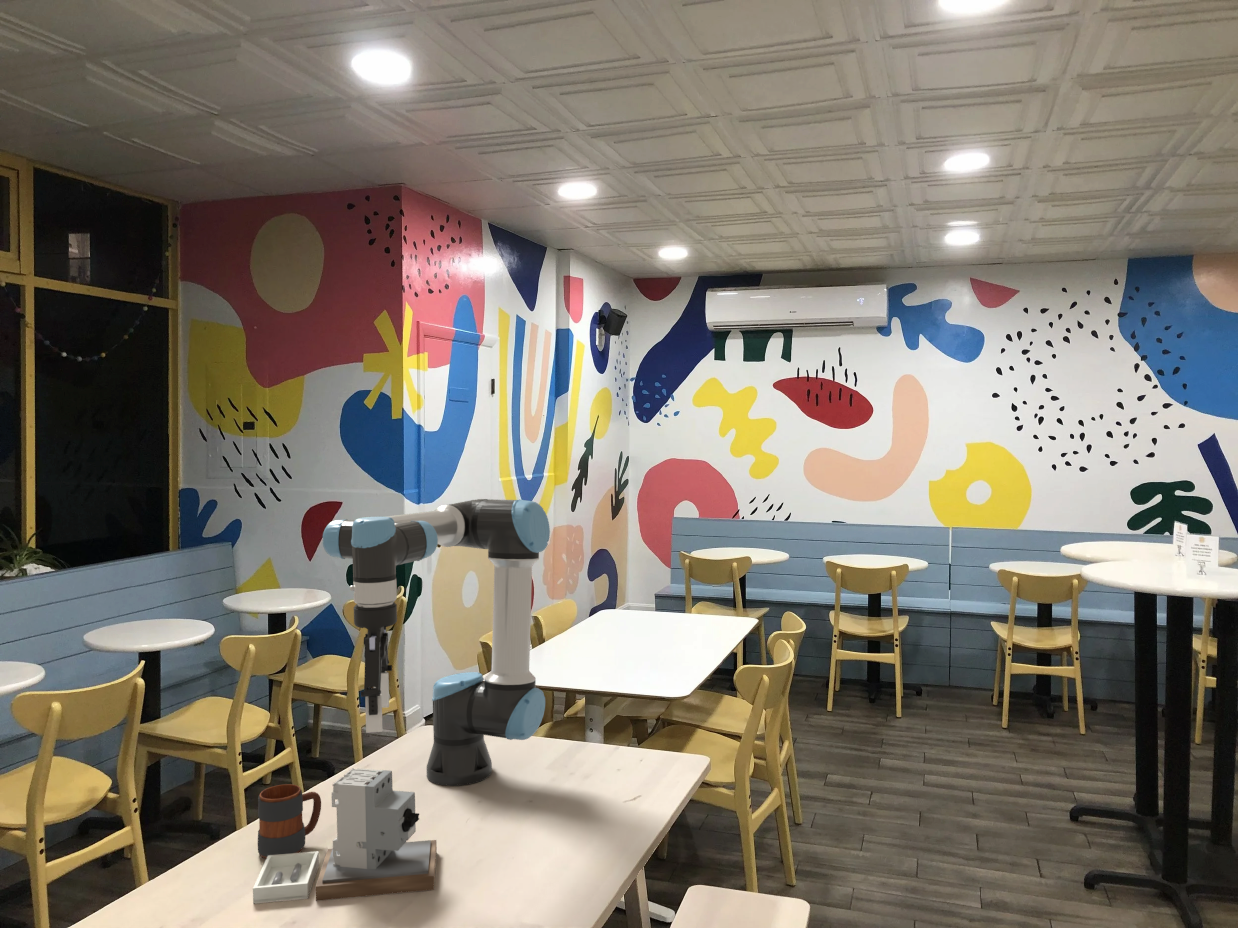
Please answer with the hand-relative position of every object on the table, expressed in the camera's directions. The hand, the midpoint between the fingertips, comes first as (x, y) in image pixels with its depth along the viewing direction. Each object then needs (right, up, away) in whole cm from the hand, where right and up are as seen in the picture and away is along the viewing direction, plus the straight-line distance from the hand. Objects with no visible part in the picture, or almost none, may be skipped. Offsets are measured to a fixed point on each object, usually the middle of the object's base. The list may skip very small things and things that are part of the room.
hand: (378, 718), depth 163 cm
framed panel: (0, -29, +1) cm, 29 cm away
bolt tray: (-16, -29, -2) cm, 33 cm away
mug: (-20, -29, +11) cm, 37 cm away
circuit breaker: (0, -26, +1) cm, 26 cm away
